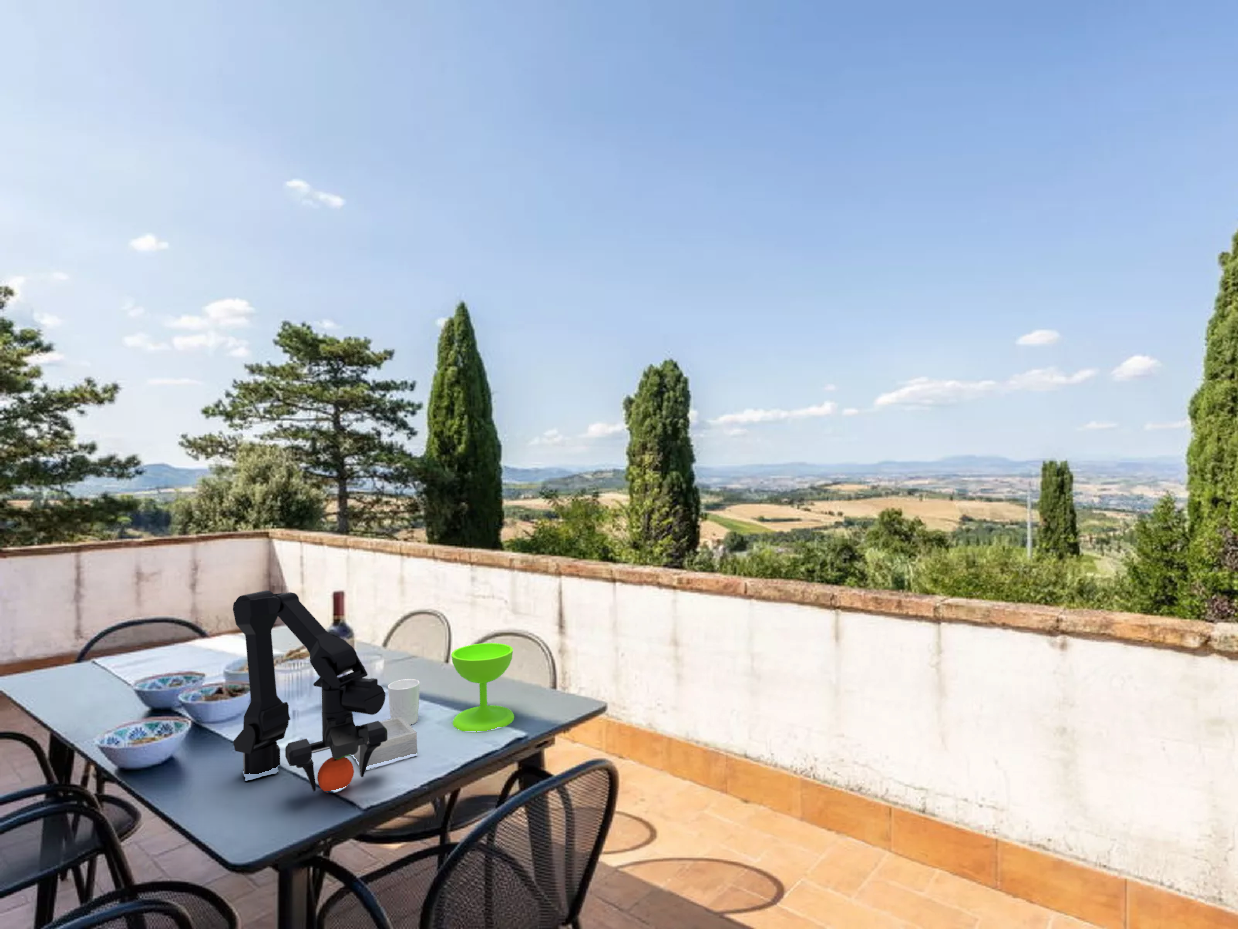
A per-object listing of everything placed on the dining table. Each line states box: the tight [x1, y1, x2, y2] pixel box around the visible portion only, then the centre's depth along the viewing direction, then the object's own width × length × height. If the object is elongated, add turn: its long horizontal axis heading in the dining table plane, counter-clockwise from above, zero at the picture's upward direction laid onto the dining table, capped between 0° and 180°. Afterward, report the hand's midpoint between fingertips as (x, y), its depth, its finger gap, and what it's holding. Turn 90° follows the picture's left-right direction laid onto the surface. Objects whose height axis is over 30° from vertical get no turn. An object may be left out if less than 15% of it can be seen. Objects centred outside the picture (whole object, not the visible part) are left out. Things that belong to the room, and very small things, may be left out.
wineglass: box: [450, 642, 515, 733], centre depth 164 cm, size 16×16×18 cm
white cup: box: [387, 678, 421, 726], centre depth 164 cm, size 8×8×10 cm
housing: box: [353, 716, 418, 766], centre depth 145 cm, size 12×12×6 cm
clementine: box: [316, 754, 356, 792], centre depth 129 cm, size 8×7×7 cm
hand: (338, 783), depth 129 cm, fingers open, 9 cm apart
